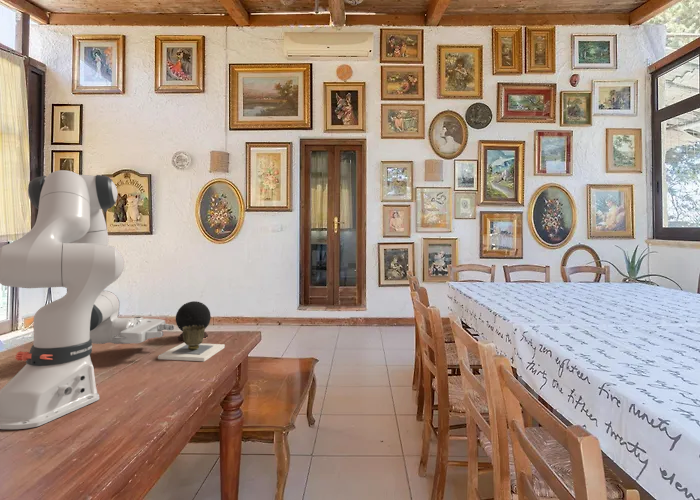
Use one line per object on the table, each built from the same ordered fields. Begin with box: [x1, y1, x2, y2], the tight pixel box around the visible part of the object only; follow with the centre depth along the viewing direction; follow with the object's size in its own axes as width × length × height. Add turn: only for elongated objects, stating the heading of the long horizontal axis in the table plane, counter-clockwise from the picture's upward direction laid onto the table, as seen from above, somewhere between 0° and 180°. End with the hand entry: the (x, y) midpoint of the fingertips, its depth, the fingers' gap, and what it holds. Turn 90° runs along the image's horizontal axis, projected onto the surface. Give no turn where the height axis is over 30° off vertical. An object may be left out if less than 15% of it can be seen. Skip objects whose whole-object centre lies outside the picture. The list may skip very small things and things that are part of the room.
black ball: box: [175, 300, 212, 343], centre depth 151 cm, size 13×13×15 cm
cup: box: [182, 325, 206, 350], centre depth 130 cm, size 8×7×8 cm
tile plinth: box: [157, 342, 226, 362], centre depth 131 cm, size 16×16×2 cm
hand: (168, 330), depth 130 cm, fingers open, 8 cm apart
